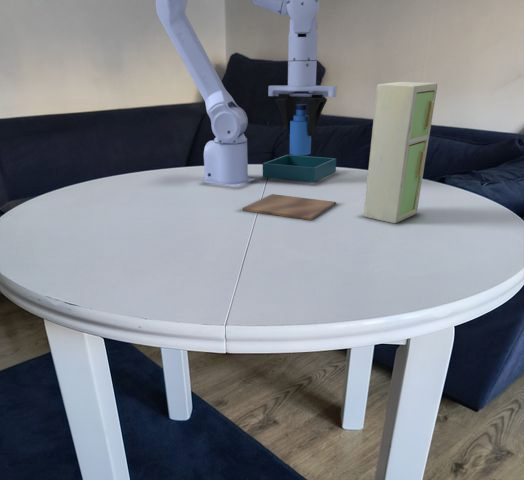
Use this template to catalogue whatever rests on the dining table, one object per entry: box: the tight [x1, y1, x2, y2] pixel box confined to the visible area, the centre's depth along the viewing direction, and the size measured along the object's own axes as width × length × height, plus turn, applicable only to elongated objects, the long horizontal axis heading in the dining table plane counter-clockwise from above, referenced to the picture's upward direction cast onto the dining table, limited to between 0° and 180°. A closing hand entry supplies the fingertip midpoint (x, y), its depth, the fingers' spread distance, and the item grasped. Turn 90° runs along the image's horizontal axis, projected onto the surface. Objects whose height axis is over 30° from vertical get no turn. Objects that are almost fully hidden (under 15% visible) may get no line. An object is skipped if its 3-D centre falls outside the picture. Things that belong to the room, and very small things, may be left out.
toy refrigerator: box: [363, 81, 438, 224], centre depth 82 cm, size 8×7×21 cm
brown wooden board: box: [242, 193, 336, 221], centre depth 93 cm, size 14×12×1 cm
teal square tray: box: [262, 154, 337, 183], centre depth 115 cm, size 13×13×4 cm
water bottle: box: [289, 103, 312, 156], centre depth 103 cm, size 5×5×10 cm
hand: (300, 134), depth 104 cm, fingers closed on water bottle, 4 cm apart
